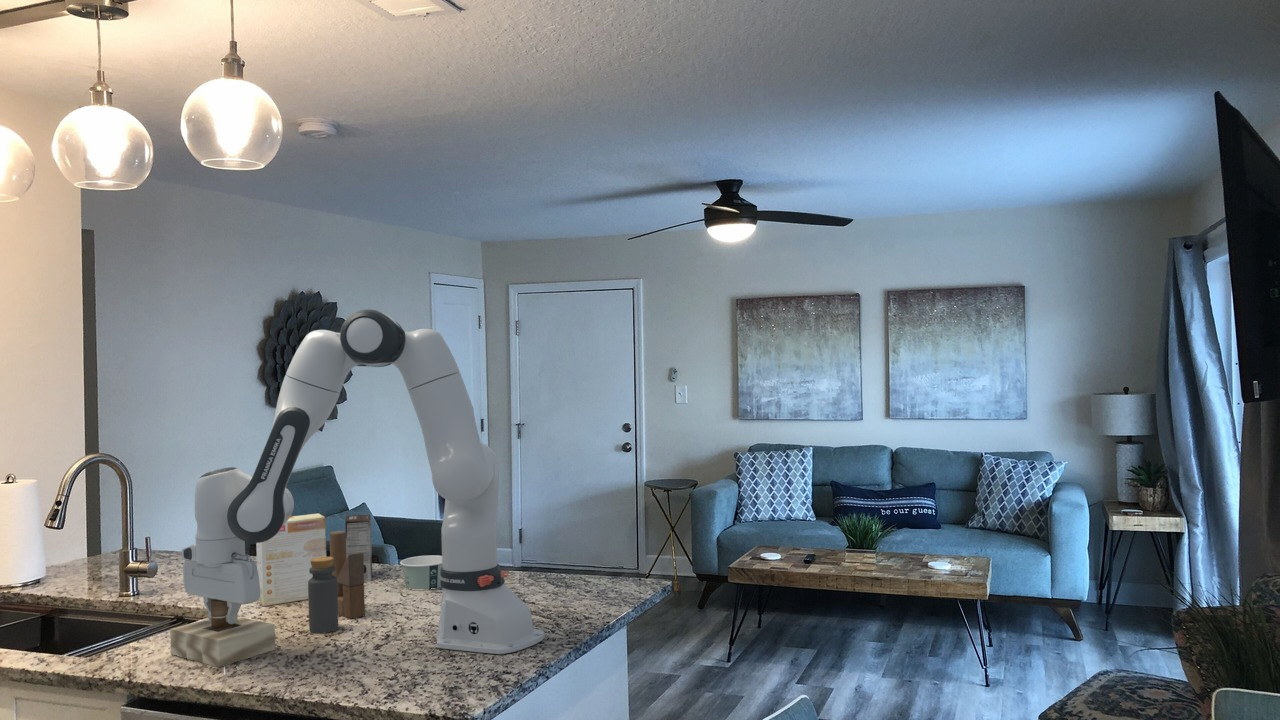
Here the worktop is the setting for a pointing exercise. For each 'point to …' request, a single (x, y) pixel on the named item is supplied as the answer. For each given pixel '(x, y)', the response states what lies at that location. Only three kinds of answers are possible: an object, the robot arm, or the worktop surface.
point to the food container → (422, 571)
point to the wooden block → (347, 577)
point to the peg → (219, 615)
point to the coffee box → (360, 540)
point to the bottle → (322, 596)
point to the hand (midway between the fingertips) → (222, 621)
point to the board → (222, 641)
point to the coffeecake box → (290, 559)
